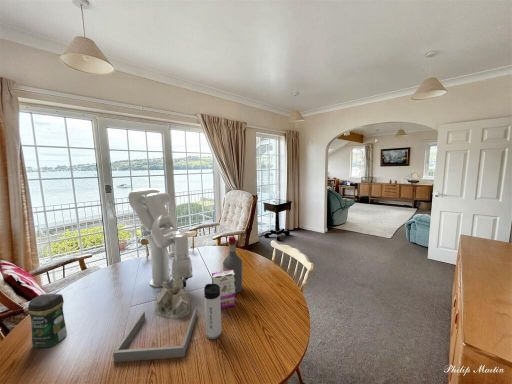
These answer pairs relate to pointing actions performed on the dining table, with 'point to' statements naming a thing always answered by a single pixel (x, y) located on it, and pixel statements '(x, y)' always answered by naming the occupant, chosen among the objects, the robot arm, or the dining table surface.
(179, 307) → the ceramic cottage
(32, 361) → the dining table surface
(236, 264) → the liquor
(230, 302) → the candy bar box
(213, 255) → the dining table surface
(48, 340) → the coffee jar
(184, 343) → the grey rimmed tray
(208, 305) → the travel mug
